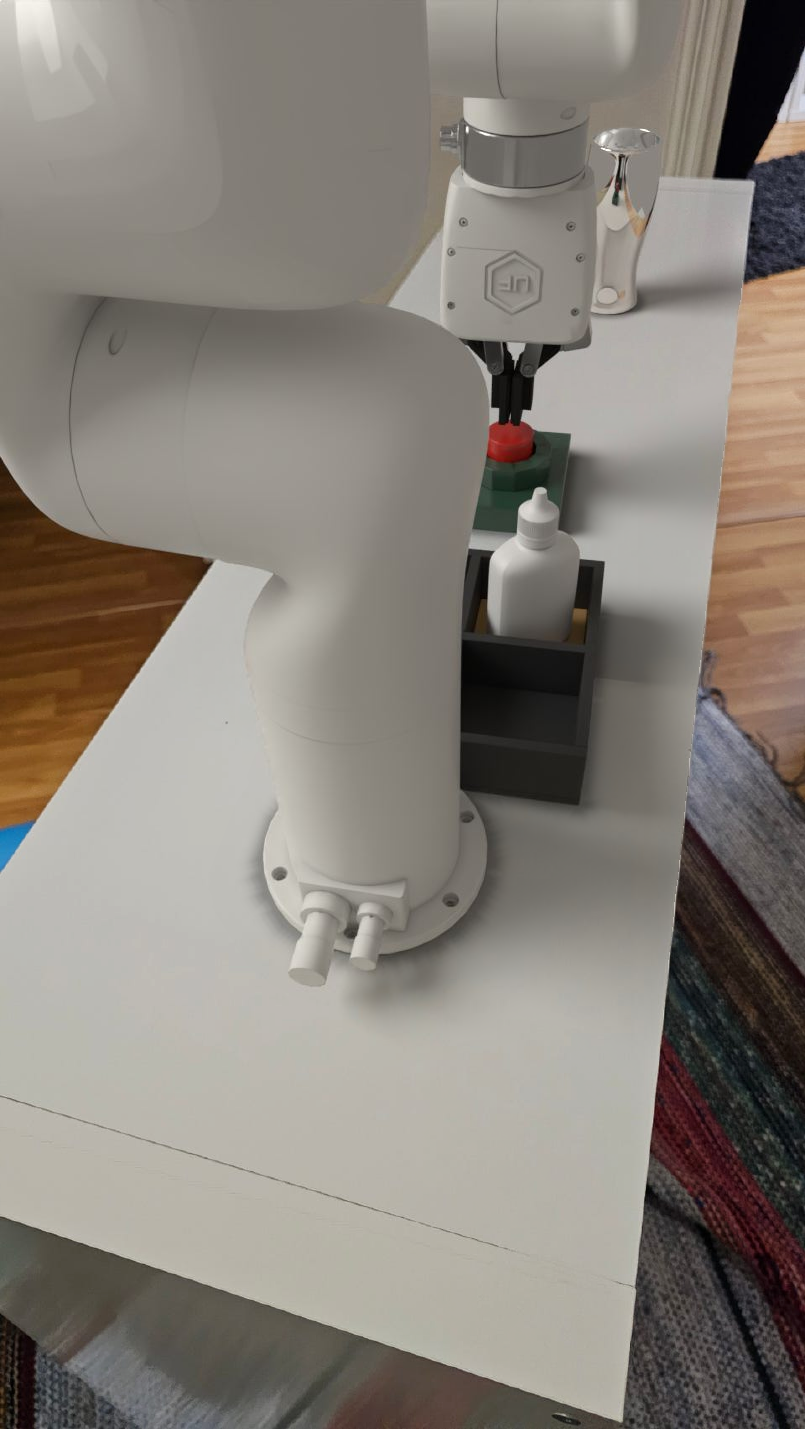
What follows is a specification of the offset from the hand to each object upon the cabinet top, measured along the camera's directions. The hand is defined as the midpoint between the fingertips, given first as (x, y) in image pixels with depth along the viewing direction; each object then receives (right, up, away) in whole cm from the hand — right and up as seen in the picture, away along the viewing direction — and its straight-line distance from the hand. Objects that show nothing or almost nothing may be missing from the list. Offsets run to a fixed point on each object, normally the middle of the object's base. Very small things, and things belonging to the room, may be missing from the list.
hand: (511, 415), depth 73 cm
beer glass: (+13, +20, +26) cm, 35 cm away
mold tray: (-5, -21, -9) cm, 23 cm away
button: (0, -2, +2) cm, 3 cm away
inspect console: (0, -5, +5) cm, 7 cm away
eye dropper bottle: (0, -18, -8) cm, 19 cm away
